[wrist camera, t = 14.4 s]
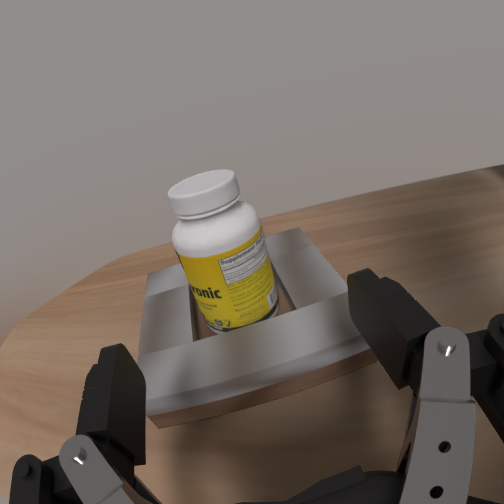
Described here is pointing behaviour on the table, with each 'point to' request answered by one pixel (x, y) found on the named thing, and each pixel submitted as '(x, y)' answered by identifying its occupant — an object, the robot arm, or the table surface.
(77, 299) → the table surface
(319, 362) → the mount block
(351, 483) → the robot arm
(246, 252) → the supplement bottle
